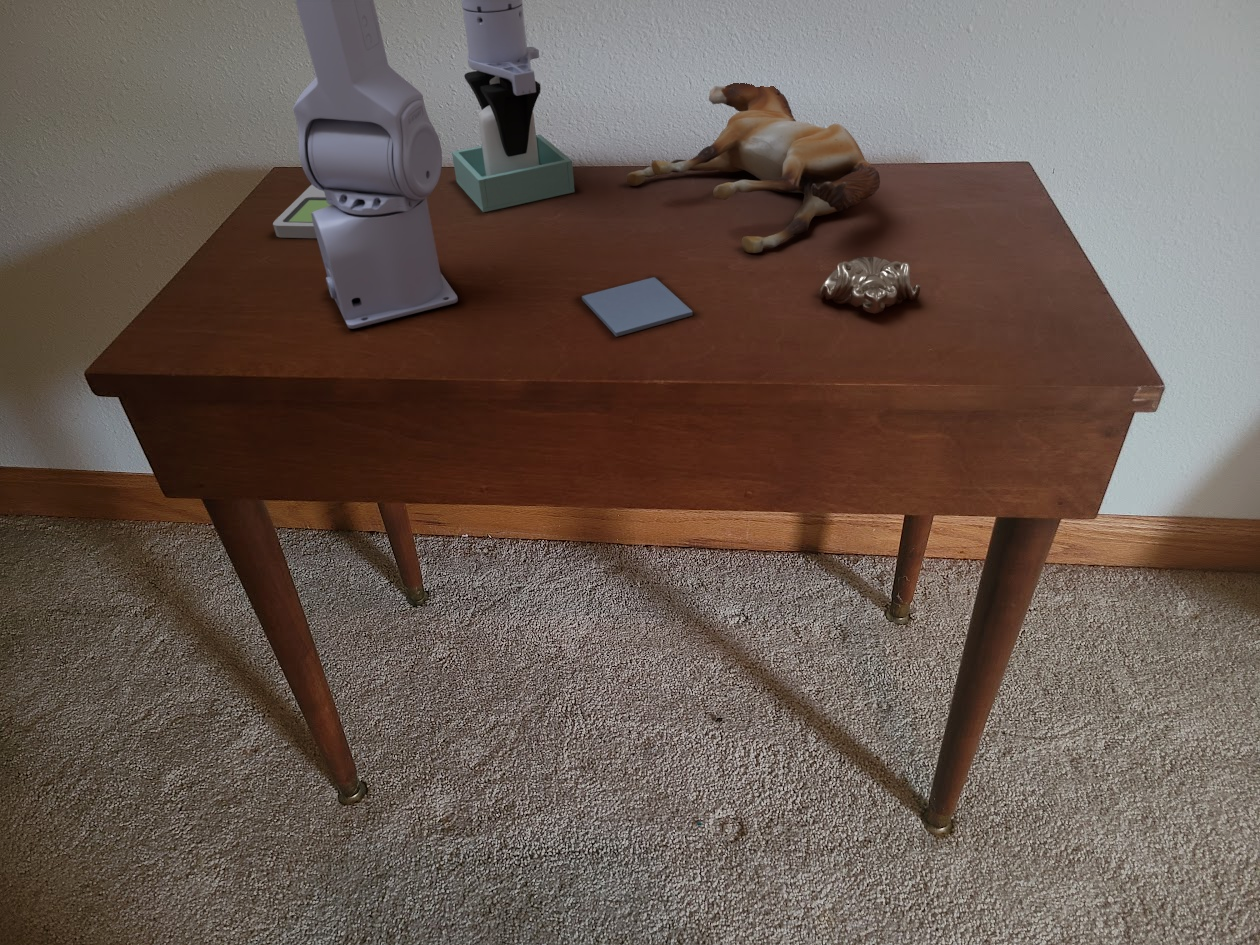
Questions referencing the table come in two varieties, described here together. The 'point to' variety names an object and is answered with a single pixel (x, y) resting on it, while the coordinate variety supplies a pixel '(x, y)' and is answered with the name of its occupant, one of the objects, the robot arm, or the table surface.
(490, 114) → the eye dropper bottle
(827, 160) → the horse figurine
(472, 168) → the box
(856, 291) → the ornament
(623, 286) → the pad
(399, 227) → the robot arm
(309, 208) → the handheld gaming console
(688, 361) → the table surface
